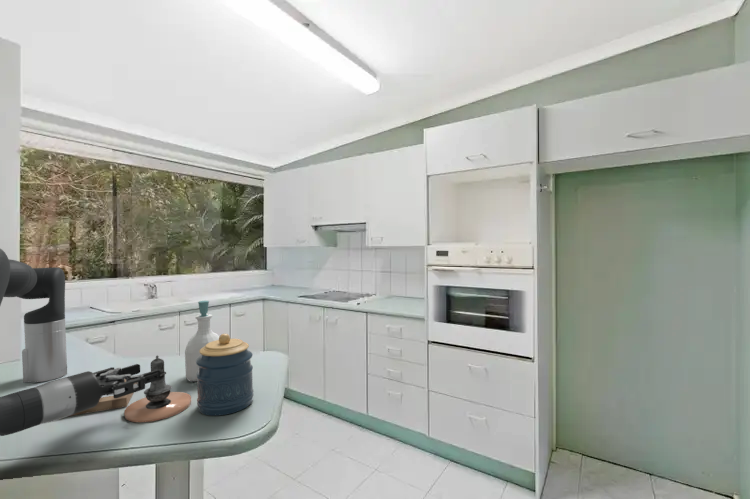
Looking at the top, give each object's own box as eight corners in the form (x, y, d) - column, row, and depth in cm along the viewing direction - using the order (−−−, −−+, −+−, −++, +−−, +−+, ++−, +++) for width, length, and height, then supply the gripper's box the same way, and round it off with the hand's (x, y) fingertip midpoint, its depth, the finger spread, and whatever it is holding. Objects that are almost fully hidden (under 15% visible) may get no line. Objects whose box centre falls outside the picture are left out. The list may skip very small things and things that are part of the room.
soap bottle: (224, 369, 116) (222, 297, 115) (220, 380, 106) (218, 302, 106) (191, 372, 113) (189, 299, 112) (184, 384, 104) (181, 304, 103)
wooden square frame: (49, 419, 84) (48, 410, 84) (72, 394, 98) (71, 386, 98) (126, 406, 90) (126, 397, 90) (138, 384, 104) (137, 377, 104)
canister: (259, 407, 89) (257, 335, 88) (200, 422, 82) (198, 344, 81) (247, 389, 100) (245, 325, 99) (194, 401, 93) (192, 332, 92)
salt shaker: (159, 410, 86) (158, 360, 85) (138, 408, 87) (136, 358, 86) (177, 399, 91) (176, 352, 91) (157, 397, 93) (156, 350, 92)
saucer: (118, 427, 80) (117, 423, 80) (131, 402, 93) (131, 398, 93) (189, 414, 86) (189, 410, 86) (192, 391, 98) (192, 388, 98)
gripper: (81, 384, 69) (166, 359, 83) (49, 372, 76) (132, 351, 90) (82, 423, 70) (167, 392, 84) (50, 407, 77) (133, 381, 91)
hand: (149, 371), depth 87 cm, fingers open, 8 cm apart
